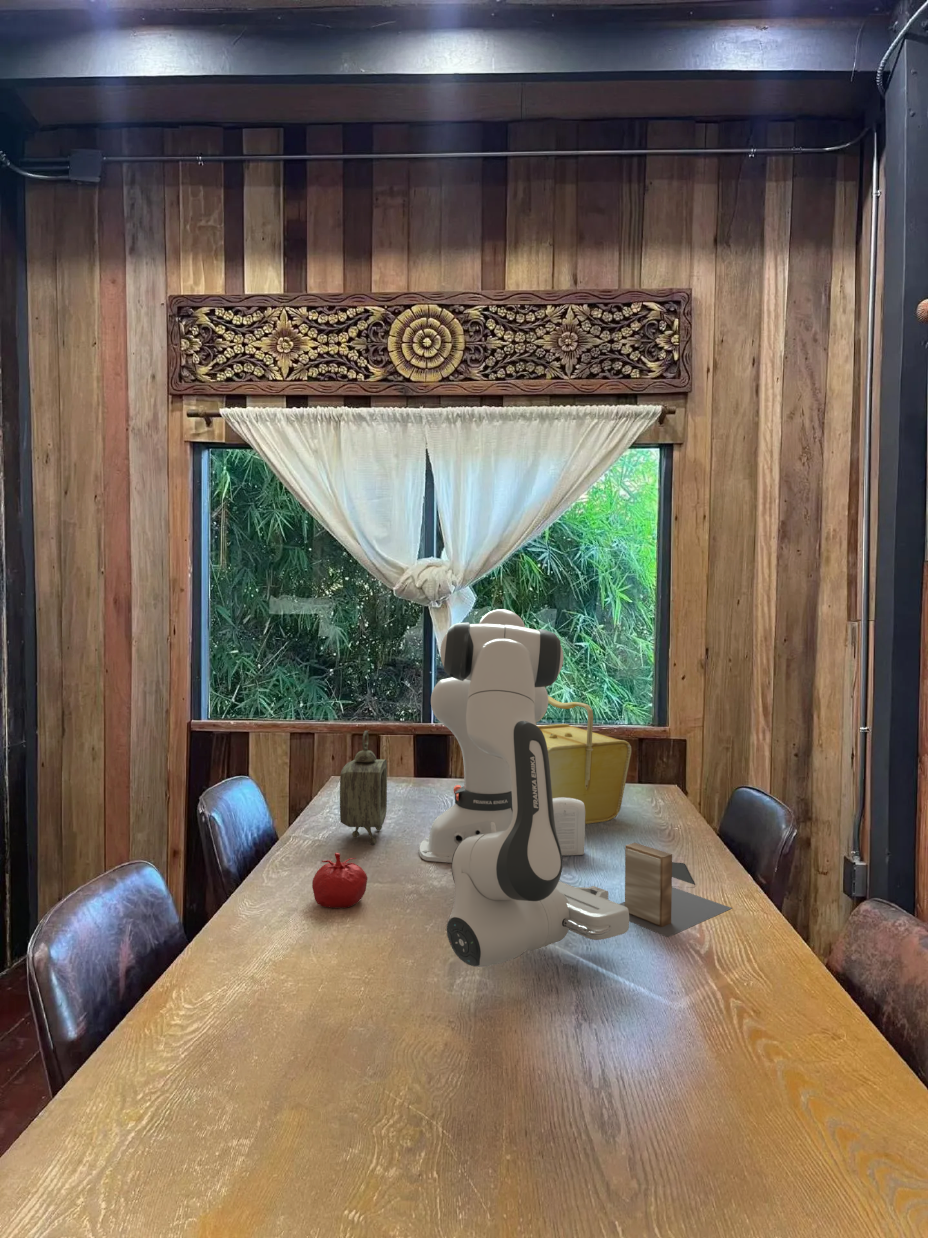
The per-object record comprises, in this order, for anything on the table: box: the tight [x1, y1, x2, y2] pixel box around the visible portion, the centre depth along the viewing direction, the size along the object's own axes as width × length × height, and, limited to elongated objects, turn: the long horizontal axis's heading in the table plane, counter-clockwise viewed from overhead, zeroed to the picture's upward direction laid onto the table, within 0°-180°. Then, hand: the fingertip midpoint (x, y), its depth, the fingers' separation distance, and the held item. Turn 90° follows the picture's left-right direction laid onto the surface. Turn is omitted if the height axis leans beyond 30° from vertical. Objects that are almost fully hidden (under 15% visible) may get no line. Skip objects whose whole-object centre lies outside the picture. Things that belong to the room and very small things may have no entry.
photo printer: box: [553, 798, 586, 856], centre depth 172 cm, size 10×4×12 cm, turn 98°
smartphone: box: [672, 861, 696, 889], centre depth 158 cm, size 7×1×15 cm
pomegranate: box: [311, 852, 368, 909], centre depth 144 cm, size 10×10×9 cm
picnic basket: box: [536, 695, 632, 825], centre depth 204 cm, size 29×26×30 cm
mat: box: [619, 887, 733, 938], centre depth 140 cm, size 19×14×1 cm
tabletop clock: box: [339, 730, 388, 846], centre depth 182 cm, size 14×9×25 cm, turn 179°
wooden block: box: [624, 842, 673, 927], centre depth 136 cm, size 3×8×12 cm, turn 39°
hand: (601, 893), depth 128 cm, fingers closed
